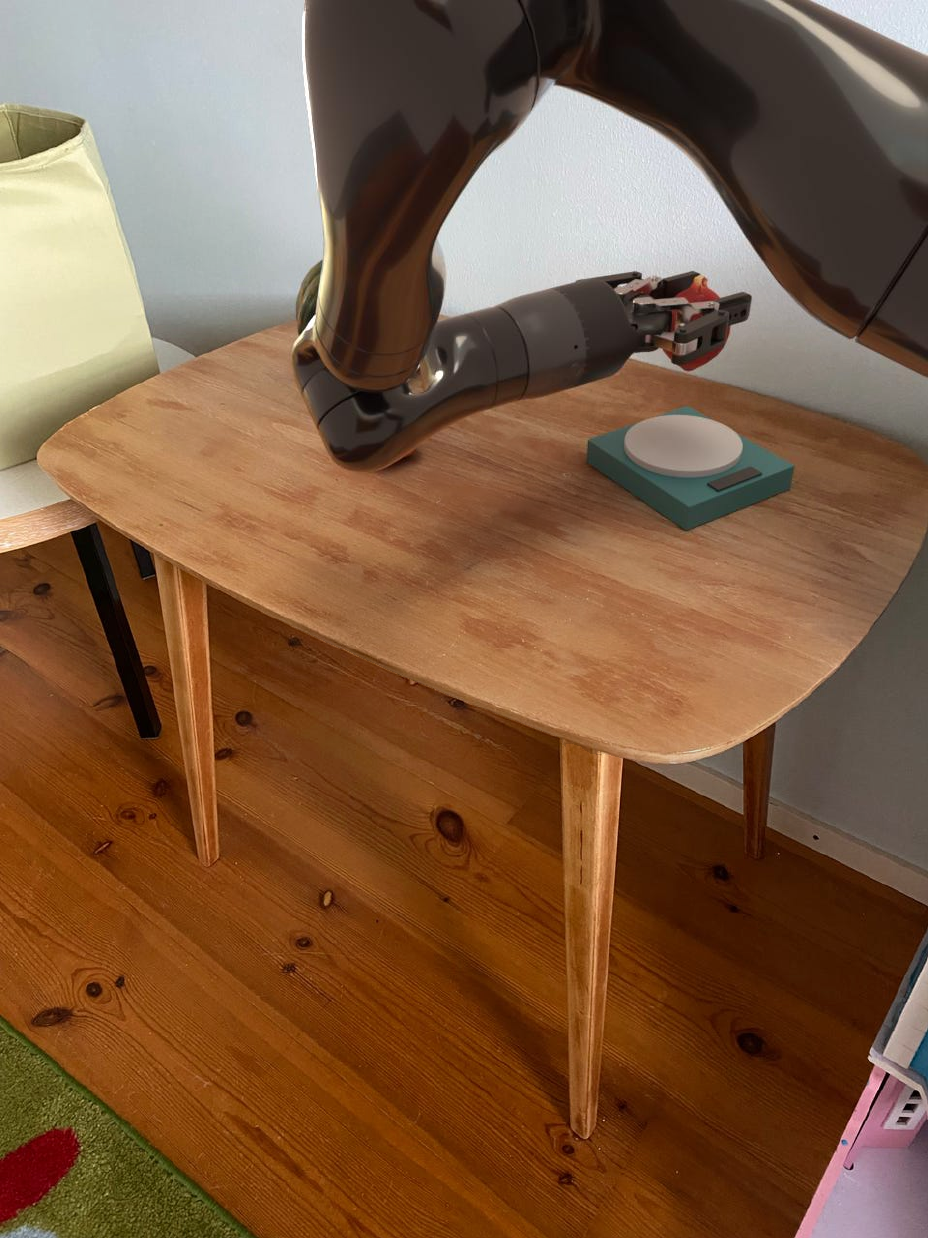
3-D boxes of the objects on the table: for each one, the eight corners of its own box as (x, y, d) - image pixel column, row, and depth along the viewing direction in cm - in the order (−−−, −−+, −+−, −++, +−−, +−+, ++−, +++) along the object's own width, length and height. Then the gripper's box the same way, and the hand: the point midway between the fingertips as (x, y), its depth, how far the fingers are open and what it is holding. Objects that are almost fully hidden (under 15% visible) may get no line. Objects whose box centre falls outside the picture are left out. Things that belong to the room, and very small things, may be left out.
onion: (729, 385, 81) (744, 289, 76) (659, 386, 81) (670, 290, 76) (716, 356, 86) (730, 263, 81) (650, 356, 86) (659, 264, 81)
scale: (790, 489, 87) (796, 458, 85) (686, 531, 83) (690, 499, 81) (684, 427, 97) (688, 398, 95) (586, 462, 92) (587, 432, 90)
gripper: (615, 322, 67) (795, 273, 74) (501, 264, 77) (669, 225, 83) (608, 422, 72) (778, 367, 78) (501, 355, 81) (660, 311, 88)
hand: (721, 294), depth 81 cm, fingers closed on onion, 5 cm apart
